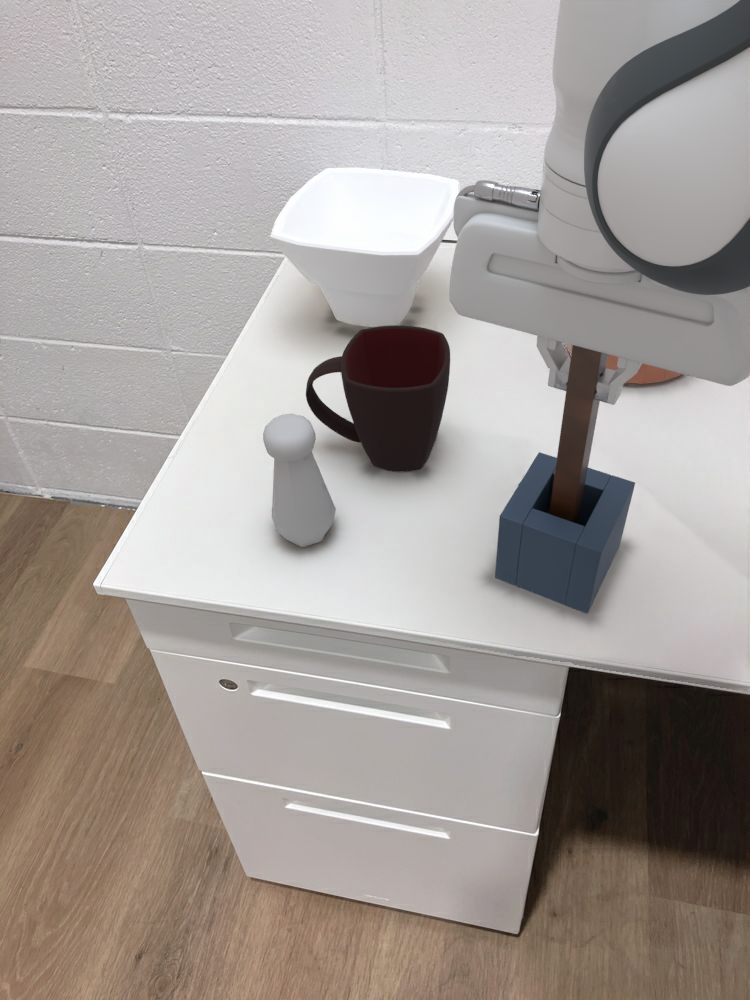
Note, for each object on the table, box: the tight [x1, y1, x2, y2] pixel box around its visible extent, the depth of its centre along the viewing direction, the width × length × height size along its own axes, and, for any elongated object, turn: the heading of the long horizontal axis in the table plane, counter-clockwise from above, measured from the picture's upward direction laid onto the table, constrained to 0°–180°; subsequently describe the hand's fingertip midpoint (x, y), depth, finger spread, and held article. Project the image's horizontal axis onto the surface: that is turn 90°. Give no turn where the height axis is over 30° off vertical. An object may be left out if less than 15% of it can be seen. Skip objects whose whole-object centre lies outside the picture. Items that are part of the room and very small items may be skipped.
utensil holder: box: [494, 451, 636, 614], centre depth 68 cm, size 8×8×8 cm
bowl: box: [269, 166, 461, 328], centre depth 94 cm, size 19×19×14 cm
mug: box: [305, 324, 451, 473], centre depth 77 cm, size 10×14×12 cm
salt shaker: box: [262, 413, 336, 548], centre depth 70 cm, size 6×6×13 cm
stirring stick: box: [549, 345, 608, 524], centre depth 62 cm, size 2×2×24 cm
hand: (584, 391), depth 57 cm, fingers closed on stirring stick, 2 cm apart
